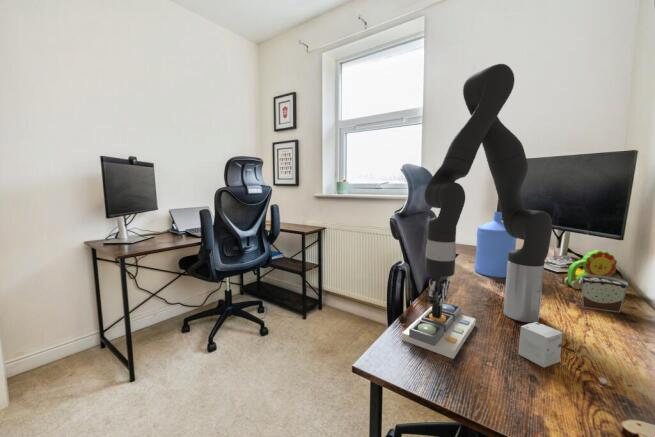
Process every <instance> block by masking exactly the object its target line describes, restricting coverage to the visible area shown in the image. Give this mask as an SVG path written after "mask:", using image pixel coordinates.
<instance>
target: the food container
mask: <svg viewBox="0 0 655 437" xmlns="http://www.w3.org/2000/svg"><path fill="white" fill-rule="evenodd" d="M579 283H581V285H582V288H581V307H582V308H586V309H593V310H599V311H606V312H613V313H621V311H622V306H623V302H624V299H625V297H626V293H627V290H630V286H629V285H630V284H629V283H628V282H627V281H625V280H622V279H619V278H615V277H611V276H607V277H606V276H599V275H583V276H582V277H581V278H580V281H579Z"/></svg>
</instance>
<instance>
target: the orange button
mask: <svg viewBox="0 0 655 437" xmlns="http://www.w3.org/2000/svg"><path fill="white" fill-rule="evenodd" d="M429 319H431V320H434V321H438V322H441V323H445V322H446V317H445V316H444V315H442V316H441V317H440V318H435V317H433V316H432V313H431V314H430V315H429Z"/></svg>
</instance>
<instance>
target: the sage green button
mask: <svg viewBox="0 0 655 437" xmlns="http://www.w3.org/2000/svg"><path fill="white" fill-rule="evenodd" d="M418 331H421V332H424V333H427V334H430V335H433V336H434V335H435V334H436V328H435V327H434V326H432V325H430V324H420V325H418Z"/></svg>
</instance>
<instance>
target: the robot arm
mask: <svg viewBox="0 0 655 437" xmlns="http://www.w3.org/2000/svg"><path fill="white" fill-rule="evenodd" d="M514 86H515V73H514V72H513V69H512V68H511V67H510V66H509V65H508V64H504V63H498V64H493V65H491V66H488V67H487V68H484V69H482V70H479V71H478V72H476V73H473V74H472V75H470V76H468V77H467V78H466V80H465V81H464V83H463V86H462V95H463V99H464V101H465V105H466V107H467V109H468V112H469V114H470V117H469V119H468V120H467V121H466V123H465V124H463V126H462V127H461V129H459V131H458V132H457V134H455V136H454V138H453V139H452V141H451V142H450V144H449V147H448V148H447V151H446V153H445V156H444V159H443V161H442V164H440V167H439V168H437V170H436V172H435V173H434V175H433V176H432V177H431V179H430V180H429V182H428V183H427V185H426V188H425V191H424V201H425V203H426V204H427V205H428V206H429V207H431V208H435V209H439V213H438V216H437V217H432V218H431V219H429V221H428V226H427V228H428V229H427V241H426V246H425V247H426V248H425V262H424V263H425V264H424V272H426V273H427V274H428V275H430V279H429V282H428V286H429V288H426V289H425V295H426V298H427V300H428V304H430V305H432V306H431V307H432V316H433V317H435V318H440V317H441V316H442V304H443V303H444V302H445V301H446V300H447V295H448V292H449V288H450V284H451V280H449V279H448V278H449V277H452V276H454V275H455V272H456V271H455V269H456V256H457V247H456V246H457V243H456V240H457V239H456V238H457V226H458V223H459V222H460V221H459V220H460V218H461V214H462V212H463V209H464V206H465V204H466V193H465V192H466V191H465V189H464V187H463V186H462V184H460V183H458V182H456V181H457V180H459V179H462V178H465V177H467V176H468V175H469V172H470V171H471V168H472V166H473V163H474V161H475V158H476V157H477V154H478V151H479V150H480V147H481V145H482V148H483V151H484V153H485V154H484V155H485V158H486V161H487V165H488V169H489V171H490V174H491V176H492V179H493V183H494V187H495V190H496V194H497V197H498V202H499V206H500V212H501V213H502V218H501V219H502V222H503V223H504V227H505V230H506V232H507V233H508V234H509V235H510V236H512V237H514V238H517V239H520V240H523V244H522V247H520V248H519V249H515V250H512V251H510V252H509V254H508V263H507V275H506V278H505V290H504V301H503V302H504V303H503V314H504V315H505V316H506V317H508V318H510V319H513V320H515V321H519V322H524V323H534V322H538V323H539V320H540V317H541V316H540V315H541V314H540V313H541V305H542V293H543V282H544V272H545V271H544V270H545V260H546V259H547V257H548V254H549V251H550V244H551V238H552V235H553V234H552V232H553V221H552V220H553V219H552V217H551V215H550V214H549V213H548V212H546V211H543V210H534V209H526V208H525V206H524V203H523V200H522V194H521V193H522V192H521V191H522V187H523V184H524V182H525V180H526V178H527V173H528V171H529V164H528V160H527V156H526V153H525V149H524V146H523V143H522V142H521V140H520V139H519V138H518V136H516V134H514V133H513V132H512V131H511V130H510V129H509V128H508V127H506V126H505V125H504V123H503V122H501V120H500V118H499V116H498V115H499V114H500V112H501V110H502V109H503V107H504V105H505V104H506V102H507V101H508V99H509V97H510V96H511V93H512V91H513V90H514Z"/></svg>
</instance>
